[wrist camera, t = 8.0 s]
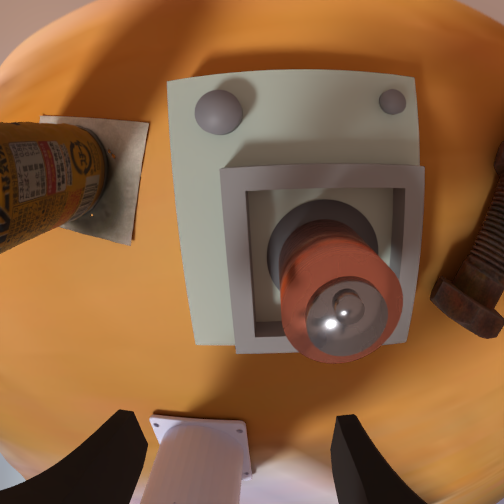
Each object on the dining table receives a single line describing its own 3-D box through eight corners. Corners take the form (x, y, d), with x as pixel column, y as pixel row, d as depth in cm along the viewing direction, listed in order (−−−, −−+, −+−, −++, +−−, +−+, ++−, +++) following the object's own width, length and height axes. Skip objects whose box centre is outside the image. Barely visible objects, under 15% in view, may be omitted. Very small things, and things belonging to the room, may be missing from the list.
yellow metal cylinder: (42, 115, 16) (-107, 120, 4) (150, 123, 16) (-17, 104, 5) (32, 219, 18) (-99, 282, 7) (132, 244, 18) (-2, 356, 7)
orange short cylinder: (370, 292, 15) (415, 366, 10) (288, 311, 16) (296, 396, 10) (359, 210, 14) (414, 252, 8) (268, 230, 15) (267, 286, 9)
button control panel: (390, 314, 19) (412, 348, 15) (203, 322, 20) (190, 360, 16) (396, 85, 14) (427, 71, 11) (180, 90, 15) (156, 74, 11)
